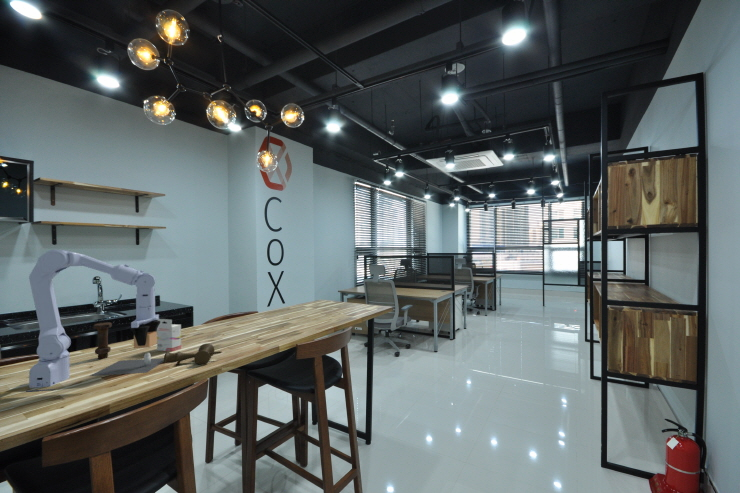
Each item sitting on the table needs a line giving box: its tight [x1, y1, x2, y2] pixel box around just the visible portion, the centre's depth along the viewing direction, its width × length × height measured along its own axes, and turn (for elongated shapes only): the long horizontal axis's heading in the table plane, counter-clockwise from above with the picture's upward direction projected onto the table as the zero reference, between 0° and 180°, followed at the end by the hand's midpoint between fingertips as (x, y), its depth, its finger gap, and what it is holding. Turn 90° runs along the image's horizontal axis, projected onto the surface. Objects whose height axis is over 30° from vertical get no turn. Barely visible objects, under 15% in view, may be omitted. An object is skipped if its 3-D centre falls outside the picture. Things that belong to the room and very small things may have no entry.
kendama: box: [163, 343, 223, 366], centre depth 126 cm, size 6×10×20 cm
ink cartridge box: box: [156, 318, 182, 352], centre depth 140 cm, size 9×5×15 cm, turn 73°
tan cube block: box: [133, 331, 157, 349], centre depth 119 cm, size 5×5×4 cm
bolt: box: [93, 322, 113, 360], centre depth 129 cm, size 6×5×15 cm
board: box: [89, 352, 164, 377], centre depth 118 cm, size 16×18×6 cm
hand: (146, 343), depth 119 cm, fingers closed on tan cube block, 5 cm apart
